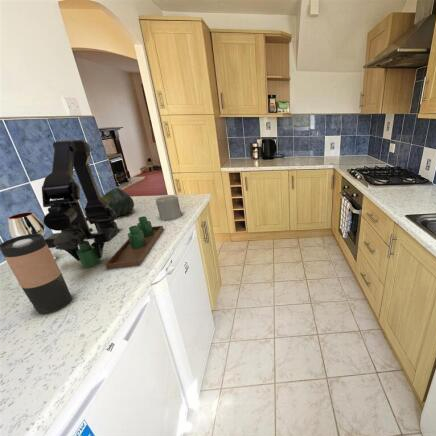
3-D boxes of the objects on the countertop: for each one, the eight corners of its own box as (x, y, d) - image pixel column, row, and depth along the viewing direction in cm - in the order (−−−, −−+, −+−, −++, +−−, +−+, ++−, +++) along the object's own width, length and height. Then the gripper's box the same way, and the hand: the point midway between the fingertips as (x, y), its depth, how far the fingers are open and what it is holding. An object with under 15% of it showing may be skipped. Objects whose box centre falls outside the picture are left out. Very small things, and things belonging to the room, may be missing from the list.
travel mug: (51, 296, 70) (19, 234, 62) (79, 294, 70) (51, 232, 62) (27, 316, 63) (-13, 249, 55) (58, 313, 63) (23, 247, 55)
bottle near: (139, 239, 101) (133, 220, 98) (143, 233, 106) (138, 215, 103) (151, 237, 102) (146, 219, 99) (155, 232, 107) (150, 214, 103)
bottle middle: (129, 250, 93) (123, 230, 89) (134, 244, 97) (128, 225, 94) (143, 249, 94) (137, 229, 90) (148, 242, 98) (142, 223, 95)
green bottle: (79, 268, 82) (70, 247, 79) (88, 260, 87) (79, 239, 83) (96, 267, 83) (87, 245, 80) (103, 259, 88) (95, 238, 84)
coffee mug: (182, 217, 122) (178, 198, 118) (160, 221, 117) (155, 202, 113) (179, 209, 133) (175, 192, 129) (159, 213, 128) (154, 195, 124)
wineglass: (64, 257, 89) (43, 212, 82) (37, 270, 82) (11, 221, 75) (50, 254, 91) (28, 210, 84) (22, 266, 84) (-4, 219, 77)
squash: (89, 207, 123) (95, 187, 115) (118, 199, 136) (125, 181, 128) (108, 227, 122) (115, 209, 115) (135, 217, 135) (143, 200, 127)
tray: (106, 269, 81) (104, 264, 81) (139, 231, 108) (137, 228, 107) (139, 265, 83) (138, 260, 82) (163, 229, 109) (162, 225, 109)
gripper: (18, 232, 69) (42, 277, 75) (92, 225, 72) (108, 269, 78) (46, 217, 79) (65, 258, 85) (109, 212, 82) (123, 251, 88)
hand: (90, 259), depth 84 cm, fingers open, 6 cm apart
